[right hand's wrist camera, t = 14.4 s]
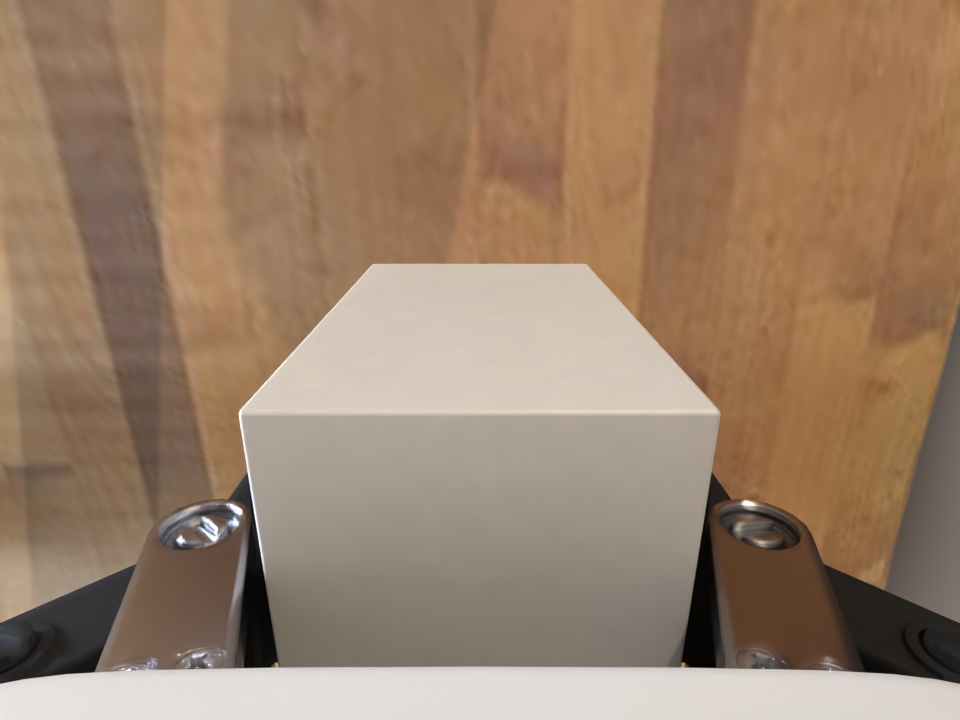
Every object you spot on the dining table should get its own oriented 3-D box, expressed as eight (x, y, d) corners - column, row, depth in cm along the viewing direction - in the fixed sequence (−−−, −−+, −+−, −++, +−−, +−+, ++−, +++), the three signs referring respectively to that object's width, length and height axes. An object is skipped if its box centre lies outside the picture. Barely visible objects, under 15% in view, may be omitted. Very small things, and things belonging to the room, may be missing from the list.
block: (388, 510, 16) (305, 841, 8) (371, 263, 13) (235, 411, 6) (571, 510, 16) (654, 840, 8) (587, 263, 13) (724, 411, 6)
